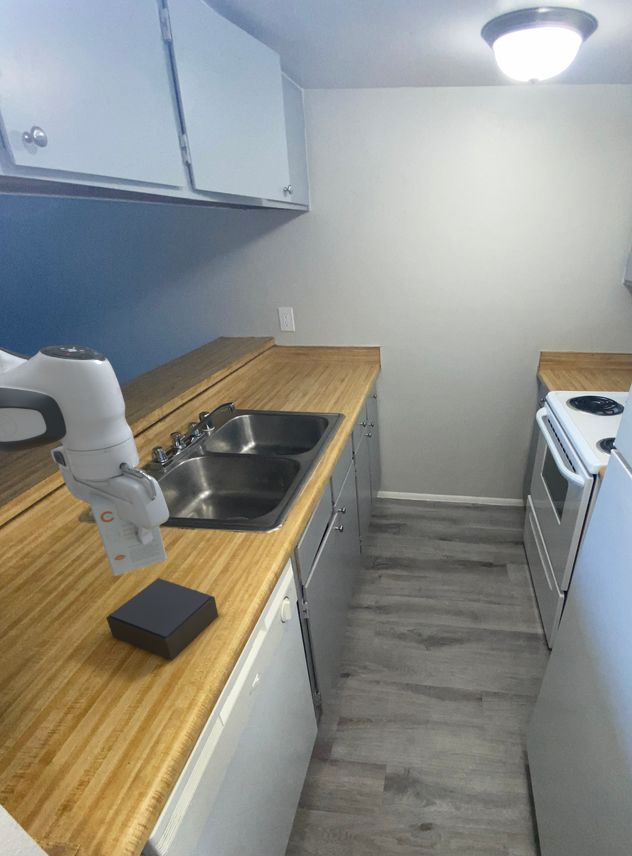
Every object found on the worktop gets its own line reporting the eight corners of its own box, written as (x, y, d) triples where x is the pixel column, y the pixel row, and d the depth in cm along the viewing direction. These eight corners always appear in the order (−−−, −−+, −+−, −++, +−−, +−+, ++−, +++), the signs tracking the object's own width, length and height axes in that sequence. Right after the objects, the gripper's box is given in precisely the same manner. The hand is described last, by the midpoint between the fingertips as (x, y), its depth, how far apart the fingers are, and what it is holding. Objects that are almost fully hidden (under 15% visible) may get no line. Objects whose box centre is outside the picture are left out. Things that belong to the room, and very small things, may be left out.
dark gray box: (112, 637, 88) (105, 615, 85) (163, 596, 98) (158, 576, 95) (171, 661, 83) (165, 639, 81) (218, 616, 93) (214, 595, 91)
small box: (160, 542, 84) (144, 477, 78) (167, 560, 79) (151, 494, 73) (108, 556, 80) (87, 490, 74) (113, 577, 75) (90, 508, 69)
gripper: (169, 464, 69) (187, 542, 75) (85, 435, 77) (107, 507, 83) (128, 482, 64) (151, 563, 70) (43, 449, 72) (71, 524, 79)
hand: (127, 532), depth 77 cm, fingers closed on small box, 8 cm apart
